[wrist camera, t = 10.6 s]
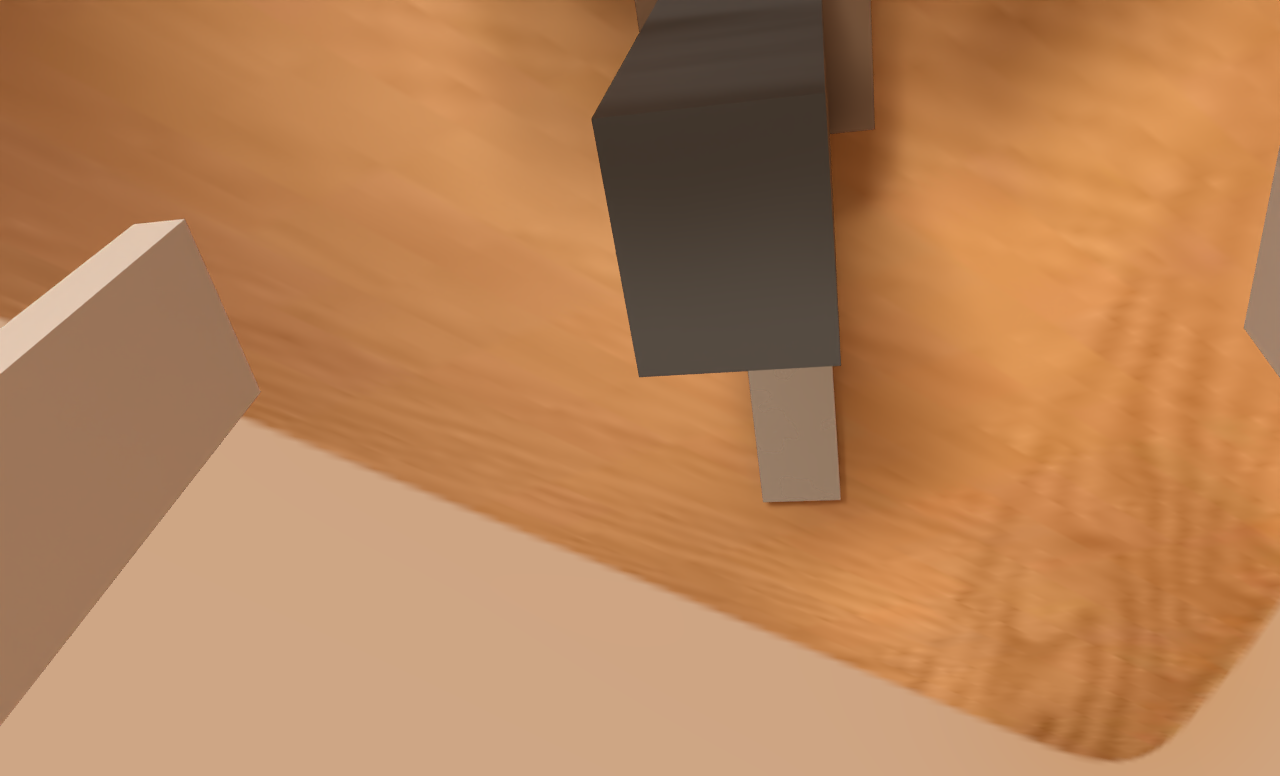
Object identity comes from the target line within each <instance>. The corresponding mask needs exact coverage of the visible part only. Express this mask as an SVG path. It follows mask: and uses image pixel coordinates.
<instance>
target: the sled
mask: <svg viewBox="0 0 1280 776" xmlns="http://www.w3.org/2000/svg"><path fill="white" fill-rule="evenodd" d="M635 6H636V12H637V19H638V26H639V32H640V33H639V35H638V36H637V38H636V40H635V42H634V44H633V45H632V47H631V49H630V51H629V53H628V54H627V56H626V58H625V60H624V61H623V63H622V65H621V67H620V69H619V70H618V72H617V74H616V76H615V78H614V79H613V81H612V83H611V85H610V87H609V88H608V90H607V92H606V94H605V96H604V97H603V99H602V101H601V103H600V105H599V106H598V108H597V110H596V112H595V114H594V115H593V117H592V124H593V130H594V135H595V141H596V146H597V151H598V157H599V162H600V168H601V173H602V179H603V184H604V189H605V195H606V200H607V206H608V211H609V217H610V222H611V227H612V233H613V238H614V244H615V249H616V254H617V260H618V265H619V271H620V276H621V282H622V287H623V292H624V298H625V303H626V309H627V314H628V320H629V325H630V330H631V336H632V341H633V347H634V352H635V357H636V363H637V368H638V374H639V377H651V376H669V375H686V374H704V373H721V372H739V371H756V370H774V369H791V368H809V367H826V366H841V356H840V336H839V315H838V294H837V273H836V253H835V232H834V211H833V190H832V170H831V149H830V134H834V133H844V132H854V131H863V130H873V129H875V121H874V90H873V58H872V26H871V0H635Z"/></svg>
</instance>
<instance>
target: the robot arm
mask: <svg viewBox="0 0 1280 776" xmlns="http://www.w3.org/2000/svg"><path fill="white" fill-rule="evenodd" d="M1244 329H1245V330H1246V332H1247V333H1248V334H1249V336H1250V337H1251V339H1252V340H1253V341H1254V343H1255V344H1256V346H1257V347H1258V348H1259V350H1260V351H1261V352H1262V354H1263V355H1264V357H1265V358H1266V359H1267V361H1268V362H1269V364H1270V365H1271V366H1272V368H1273V369H1274V370H1275V372H1276V373H1277V375H1278V376H1279V377H1280V147H1279V152H1278V157H1277V162H1276V168H1275V173H1274V178H1273V183H1272V188H1271V193H1270V198H1269V203H1268V208H1267V213H1266V218H1265V223H1264V228H1263V233H1262V238H1261V243H1260V249H1259V254H1258V259H1257V264H1256V269H1255V274H1254V279H1253V284H1252V289H1251V294H1250V299H1249V304H1248V309H1247V314H1246V319H1245V324H1244ZM260 392H261V391H260V389H259V387H258V385H257V382H256V380H255V378H254V375H253V373H252V371H251V369H250V366H249V364H248V362H247V360H246V357H245V355H244V353H243V350H242V348H241V346H240V344H239V341H238V339H237V337H236V334H235V332H234V330H233V328H232V325H231V323H230V321H229V319H228V316H227V314H226V312H225V309H224V307H223V305H222V303H221V300H220V298H219V296H218V293H217V291H216V289H215V287H214V284H213V282H212V280H211V278H210V275H209V273H208V271H207V268H206V266H205V264H204V262H203V259H202V257H201V255H200V252H199V250H198V248H197V246H196V243H195V241H194V239H193V237H192V234H191V232H190V230H189V227H188V225H187V223H186V221H185V219H179V220H170V221H160V222H151V223H141V224H133V225H132V226H131V227H129V228H128V229H127V230H125V231H124V232H123V233H122V234H120V235H119V236H118V237H117V238H115V239H114V240H113V241H111V242H110V243H109V244H108V245H106V246H105V247H104V248H102V249H101V250H100V251H99V252H97V253H96V254H95V255H94V256H92V257H91V258H90V259H88V260H87V261H86V262H85V263H83V264H82V265H81V266H79V267H78V268H77V269H76V270H74V271H73V272H72V273H71V274H69V275H68V276H67V277H65V278H64V279H63V280H62V281H60V282H59V283H58V284H56V285H55V286H54V287H53V288H51V289H50V290H49V291H47V292H46V293H45V294H44V295H42V296H41V297H40V298H39V299H37V300H36V301H35V302H33V303H32V304H31V305H30V306H28V307H27V308H26V309H24V310H23V311H22V312H21V313H19V314H18V315H17V316H16V317H14V318H13V319H12V320H10V321H9V322H8V323H7V324H5V325H4V326H3V327H1V328H0V726H1V724H2V723H3V722H4V721H5V719H6V718H7V717H8V715H9V714H10V713H11V712H12V710H13V709H14V708H15V706H16V705H17V704H18V703H19V701H20V700H21V699H22V697H23V696H24V695H25V694H26V692H27V691H28V690H29V689H30V687H31V686H32V685H33V683H34V682H35V681H36V680H37V678H38V677H39V676H40V674H41V673H42V672H43V671H44V669H45V668H46V667H47V665H48V664H49V663H50V662H51V660H52V659H53V658H54V656H55V655H56V654H57V653H58V651H59V650H60V649H61V648H62V646H63V645H64V644H65V642H66V641H67V640H68V639H69V637H70V636H71V635H72V633H73V632H74V631H75V629H76V628H77V627H78V626H79V624H80V623H81V622H82V621H83V619H84V618H85V616H86V615H87V614H88V613H89V612H90V610H91V609H92V608H93V606H94V605H95V604H96V603H97V601H98V600H99V599H100V597H101V596H102V595H103V594H104V592H105V591H106V590H107V589H108V587H109V586H110V585H111V583H112V582H113V580H115V578H116V577H117V576H118V574H119V573H120V572H121V571H122V569H123V568H124V567H125V565H126V564H127V563H128V562H129V560H130V559H131V558H132V556H133V555H134V554H135V553H136V551H137V550H138V549H139V547H140V546H141V545H142V544H143V542H144V541H145V540H146V538H147V537H148V536H149V535H150V533H151V532H152V531H153V530H154V528H155V527H156V525H157V524H158V523H159V522H160V520H161V519H162V518H163V517H164V515H165V514H166V513H167V512H168V510H169V509H170V508H171V506H172V505H173V504H174V502H175V501H176V500H177V499H178V497H179V496H180V495H181V493H182V492H183V491H184V490H185V488H186V487H187V486H188V485H189V483H190V482H191V481H192V479H193V478H194V477H195V476H196V474H197V473H198V472H199V471H200V469H201V468H202V467H203V465H204V464H205V463H206V462H207V460H208V459H209V458H210V456H211V455H212V454H213V453H214V451H215V450H216V449H217V447H218V446H219V445H220V444H221V442H222V441H223V440H224V438H225V437H226V436H227V435H228V433H229V432H230V431H231V429H232V428H233V427H234V426H235V424H236V423H237V422H238V420H239V419H240V418H241V417H242V415H243V414H244V413H245V412H246V410H247V409H248V408H249V406H250V405H251V404H252V403H253V401H254V400H255V399H256V397H257V396H258V395H259V394H260Z"/></svg>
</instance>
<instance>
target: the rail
mask: <svg viewBox="0 0 1280 776" xmlns="http://www.w3.org/2000/svg"><path fill="white" fill-rule="evenodd" d="M748 376H749V384H750V393H751V402H752V410H753V419H754V427H755V436H756V445H757V453H758V462H759V471H760V479H761V488H762V497H763V502H788V501H821V500H841V496H840V477H839V461H838V445H837V429H836V413H835V397H834V381H833V366H826V367H809V368H791V369H774V370H756V371H748Z"/></svg>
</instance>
